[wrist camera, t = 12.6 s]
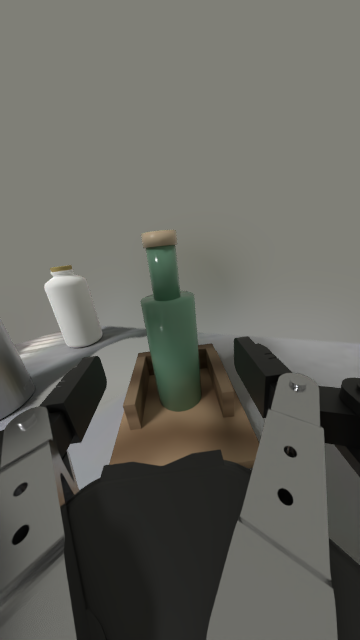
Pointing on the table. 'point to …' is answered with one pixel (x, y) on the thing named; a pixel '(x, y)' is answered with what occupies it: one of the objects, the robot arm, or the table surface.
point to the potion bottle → (73, 307)
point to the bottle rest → (184, 419)
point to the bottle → (171, 326)
